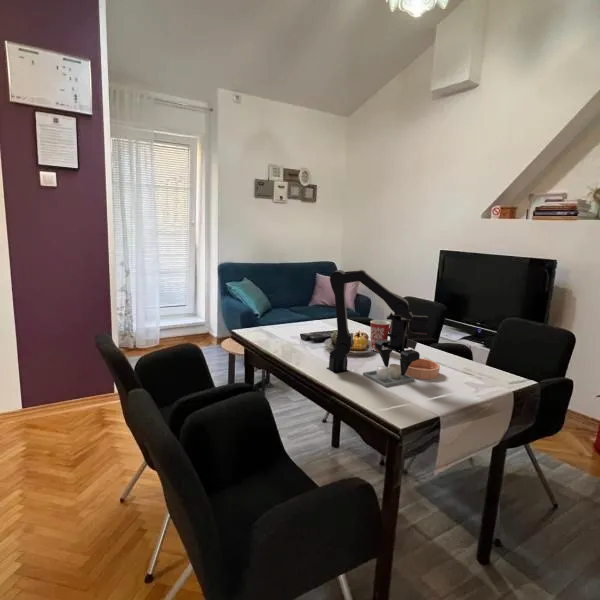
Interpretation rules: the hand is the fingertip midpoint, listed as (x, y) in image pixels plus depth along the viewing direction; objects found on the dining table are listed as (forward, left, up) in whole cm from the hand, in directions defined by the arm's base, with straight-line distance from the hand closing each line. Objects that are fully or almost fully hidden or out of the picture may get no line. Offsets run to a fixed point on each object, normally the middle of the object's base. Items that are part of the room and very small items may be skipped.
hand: (394, 371), depth 159 cm
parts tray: (-3, 0, -3) cm, 4 cm away
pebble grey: (-6, 0, -2) cm, 6 cm away
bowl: (+13, 0, -3) cm, 13 cm away
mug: (+18, +29, -3) cm, 34 cm away
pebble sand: (0, 0, -2) cm, 2 cm away
